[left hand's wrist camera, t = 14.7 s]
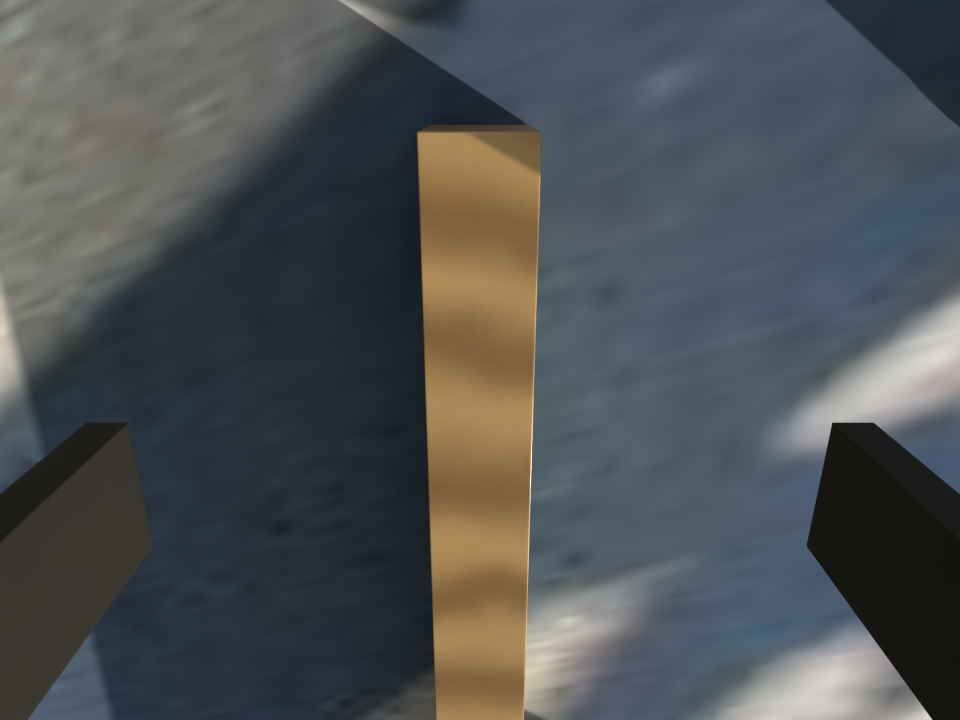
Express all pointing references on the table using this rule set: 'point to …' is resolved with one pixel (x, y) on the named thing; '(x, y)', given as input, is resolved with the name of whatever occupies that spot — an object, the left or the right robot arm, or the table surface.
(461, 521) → the bar
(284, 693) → the table surface
